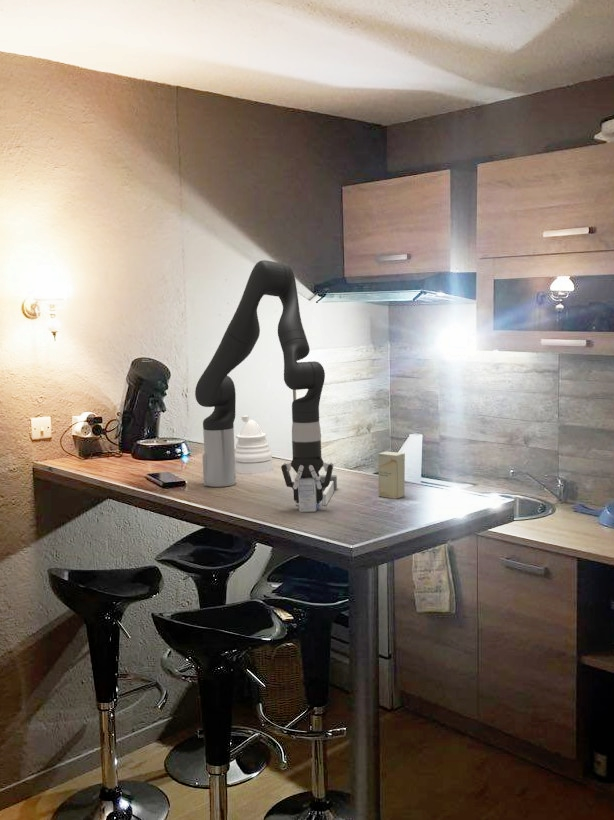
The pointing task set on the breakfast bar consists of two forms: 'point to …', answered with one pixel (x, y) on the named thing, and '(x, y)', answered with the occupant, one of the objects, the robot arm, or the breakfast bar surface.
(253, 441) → the honey pot
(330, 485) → the channel
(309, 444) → the robot arm
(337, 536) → the breakfast bar surface
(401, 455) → the skincare box
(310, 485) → the medicine box
